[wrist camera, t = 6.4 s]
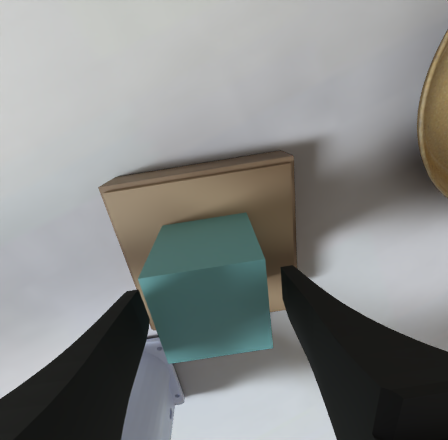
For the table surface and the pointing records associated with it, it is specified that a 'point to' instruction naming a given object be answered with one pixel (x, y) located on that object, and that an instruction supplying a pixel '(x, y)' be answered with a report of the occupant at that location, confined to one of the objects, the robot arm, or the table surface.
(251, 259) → the teal cube
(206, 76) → the table surface
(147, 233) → the walnut plinth
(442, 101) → the plant saucer
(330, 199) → the table surface
